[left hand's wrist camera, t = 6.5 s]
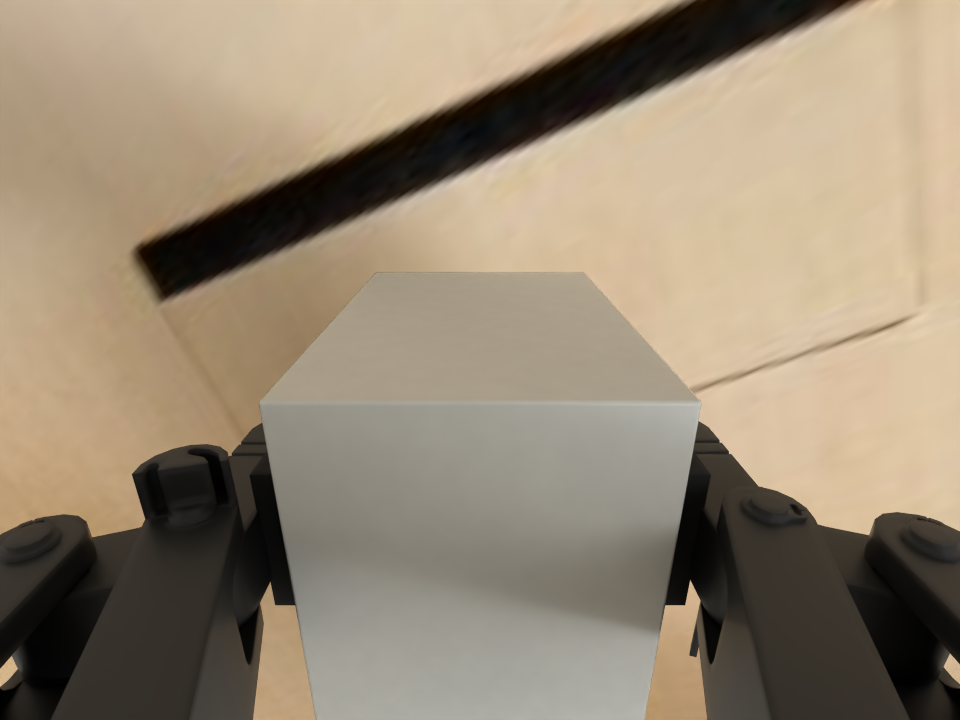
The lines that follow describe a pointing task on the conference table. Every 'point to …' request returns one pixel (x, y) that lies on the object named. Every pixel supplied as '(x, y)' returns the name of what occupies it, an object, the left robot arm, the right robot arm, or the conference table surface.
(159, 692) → the left robot arm
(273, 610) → the conference table surface
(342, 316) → the bar
